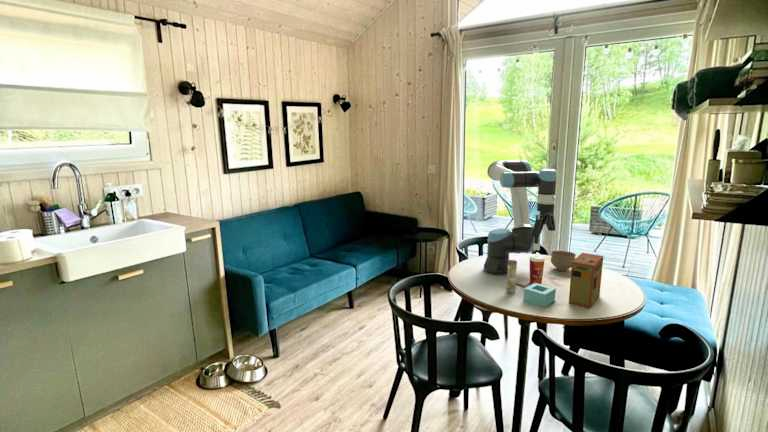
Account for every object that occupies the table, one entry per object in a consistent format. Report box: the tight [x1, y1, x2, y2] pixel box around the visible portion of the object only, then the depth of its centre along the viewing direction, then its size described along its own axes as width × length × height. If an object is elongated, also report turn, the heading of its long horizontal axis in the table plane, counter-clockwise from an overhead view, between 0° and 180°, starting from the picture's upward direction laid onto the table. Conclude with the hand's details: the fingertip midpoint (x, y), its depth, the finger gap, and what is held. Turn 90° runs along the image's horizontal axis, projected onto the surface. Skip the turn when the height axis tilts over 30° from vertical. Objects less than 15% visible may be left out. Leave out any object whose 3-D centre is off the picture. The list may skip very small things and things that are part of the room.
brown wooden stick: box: [516, 282, 529, 288], centre depth 206 cm, size 10×1×1 cm, turn 41°
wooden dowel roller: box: [506, 259, 518, 295], centre depth 195 cm, size 4×4×16 cm
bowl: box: [550, 250, 577, 272], centre depth 226 cm, size 13×13×10 cm
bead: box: [523, 283, 557, 308], centre depth 187 cm, size 10×10×6 cm
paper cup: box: [528, 254, 546, 285], centre depth 207 cm, size 8×8×14 cm
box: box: [568, 252, 604, 310], centre depth 184 cm, size 17×9×20 cm, turn 140°
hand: (542, 246), depth 193 cm, fingers open, 13 cm apart
